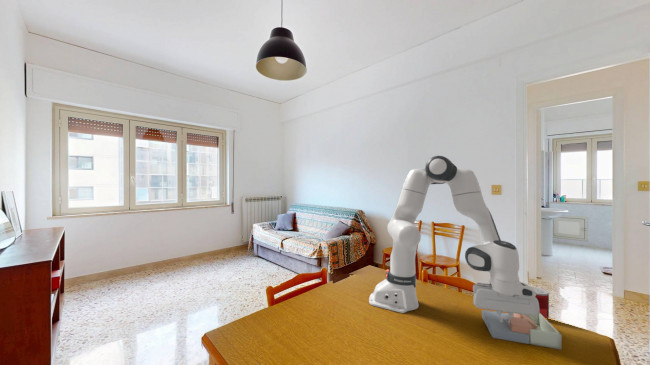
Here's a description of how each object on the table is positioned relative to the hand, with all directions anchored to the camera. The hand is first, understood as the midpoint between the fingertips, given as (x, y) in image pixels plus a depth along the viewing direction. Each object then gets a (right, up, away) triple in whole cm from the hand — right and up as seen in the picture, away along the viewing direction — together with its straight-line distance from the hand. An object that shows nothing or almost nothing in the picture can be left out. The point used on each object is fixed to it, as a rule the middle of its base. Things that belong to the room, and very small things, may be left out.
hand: (504, 322), depth 94 cm
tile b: (+4, -1, -1) cm, 5 cm away
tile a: (+10, -2, +4) cm, 11 cm away
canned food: (+22, -5, +13) cm, 26 cm away
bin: (+11, -4, 0) cm, 12 cm away
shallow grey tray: (+2, -4, +3) cm, 6 cm away
